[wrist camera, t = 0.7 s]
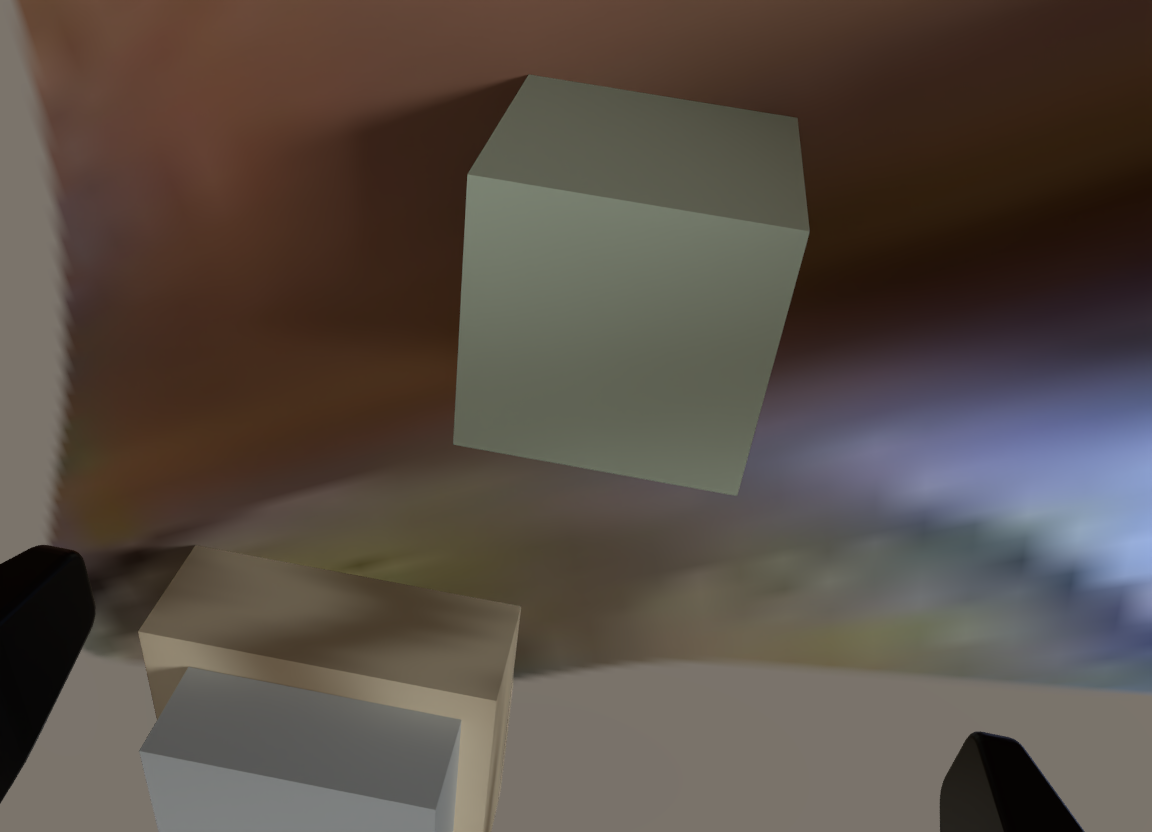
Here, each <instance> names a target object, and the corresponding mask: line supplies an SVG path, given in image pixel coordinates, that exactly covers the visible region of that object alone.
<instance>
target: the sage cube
mask: <svg viewBox="0 0 1152 832" xmlns="http://www.w3.org/2000/svg"><path fill="white" fill-rule="evenodd" d="M809 233H810V228H809V219H808V210H807V201H806V192H805V182H804V173H803V164H802V155H801V146H800V136H799V127H798V118H795V117H789V116H783V115H777V114H771V113H765V112H758V111H752V110H746V109H740V108H734V107H727V106H721V105H715V104H709V103H703V102H696V101H690V100H684V99H678V98H672V97H665V96H659V95H653V94H647V93H641V92H634V91H628V90H622V89H616V88H610V87H603V86H597V85H591V84H585V83H579V82H572V81H566V80H560V79H554V78H548V77H541V76H535V75H528V76H527V78H526V80H525V81H524V83H523V85H522V86H521V88H520V89H519V91H518V93H517V94H516V96H515V98H514V99H513V101H512V103H511V104H510V106H509V107H508V109H507V111H506V112H505V114H504V116H503V117H502V119H501V120H500V122H499V124H498V125H497V127H496V129H495V130H494V132H493V133H492V135H491V137H490V138H489V140H488V142H487V143H486V145H485V146H484V148H483V150H482V151H481V153H480V155H479V156H478V158H477V159H476V161H475V163H474V164H473V166H472V168H471V169H470V171H469V173H468V174H467V192H466V211H465V230H464V249H463V268H462V287H461V306H460V325H459V344H458V363H457V382H456V401H455V420H454V439H453V445H458V446H464V447H469V448H475V449H480V450H486V451H491V452H497V453H503V454H508V455H514V456H519V457H525V458H530V459H536V460H541V461H547V462H552V463H558V464H563V465H569V466H574V467H580V468H585V469H591V470H596V471H602V472H607V473H613V474H619V475H624V476H630V477H635V478H641V479H646V480H652V481H657V482H663V483H668V484H674V485H679V486H685V487H690V488H696V489H701V490H707V491H712V492H718V493H723V494H729V495H735V496H737V495H738V491H739V487H740V484H741V480H742V476H743V473H744V469H745V465H746V462H747V458H748V455H749V451H750V447H751V444H752V440H753V436H754V433H755V429H756V425H757V422H758V418H759V415H760V411H761V407H762V404H763V400H764V396H765V393H766V389H767V385H768V382H769V378H770V375H771V371H772V367H773V364H774V360H775V356H776V353H777V349H778V345H779V342H780V338H781V335H782V331H783V327H784V324H785V320H786V316H787V313H788V309H789V305H790V302H791V298H792V295H793V291H794V287H795V284H796V280H797V276H798V273H799V269H800V265H801V262H802V258H803V255H804V251H805V247H806V244H807V240H808V236H809Z"/></svg>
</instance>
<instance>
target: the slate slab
mask: <svg viewBox="0 0 1152 832" xmlns="http://www.w3.org/2000/svg"><path fill="white" fill-rule="evenodd" d="M460 733H461V720H460V719H455V718H450V717H444V716H439V715H434V714H429V713H424V712H419V711H414V710H408V709H403V708H398V707H393V706H388V705H383V704H377V703H372V702H367V701H362V700H357V699H352V698H347V697H341V696H336V695H331V694H326V693H321V692H316V691H310V690H305V689H300V688H295V687H290V686H285V685H280V684H274V683H269V682H264V681H259V680H254V679H249V678H243V677H238V676H233V675H228V674H223V673H218V672H213V671H207V670H202V669H197V668H192V667H188V669H187V670H186V672H185V674H184V675H183V677H182V679H181V681H180V682H179V684H178V686H177V687H176V689H175V691H174V692H173V694H172V696H171V698H170V699H169V701H168V703H167V704H166V706H165V708H164V710H163V711H162V713H161V715H160V716H159V718H158V720H157V722H156V723H155V725H154V727H153V728H152V730H151V732H150V733H149V735H148V737H147V739H146V740H145V742H144V744H143V745H142V747H141V749H140V751H139V752H140V756H141V760H142V765H143V769H144V773H145V777H146V781H147V785H148V789H149V793H150V798H151V802H152V806H153V810H154V814H155V818H156V823H157V827H158V831H159V832H453V830H454V816H455V802H456V789H457V775H458V761H459V747H460Z"/></svg>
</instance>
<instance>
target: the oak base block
mask: <svg viewBox="0 0 1152 832" xmlns="http://www.w3.org/2000/svg"><path fill="white" fill-rule="evenodd" d="M520 611H521V606H516V605H511V604H506V603H500V602H495V601H490V600H484V599H479V598H474V597H468V596H463V595H458V594H452V593H447V592H442V591H436V590H431V589H426V588H420V587H415V586H410V585H404V584H399V583H394V582H388V581H383V580H378V579H372V578H367V577H362V576H356V575H351V574H346V573H341V572H335V571H330V570H325V569H319V568H314V567H309V566H303V565H298V564H293V563H287V562H282V561H277V560H271V559H266V558H261V557H255V556H250V555H245V554H239V553H234V552H229V551H223V550H218V549H213V548H207V547H202V546H197V545H195V547H194V548H193V550H192V551H191V553H190V554H189V556H188V557H187V559H186V560H185V562H184V563H183V565H182V566H181V568H180V569H179V571H178V572H177V574H176V575H175V577H174V578H173V580H172V581H171V583H170V584H169V586H168V587H167V589H166V590H165V592H164V593H163V595H162V596H161V598H160V599H159V601H158V602H157V604H156V605H155V607H154V608H153V610H152V611H151V613H150V614H149V616H148V617H147V619H146V620H145V622H144V623H143V625H142V626H141V628H140V629H139V631H138V634H139V639H140V643H141V648H142V652H143V657H144V662H145V666H146V671H147V676H148V680H149V685H150V689H151V694H152V698H153V703H154V708H155V713H156V717H157V720H158V718H159V716H160V715H161V713H162V711H163V710H164V708H165V706H166V704H167V703H168V701H169V699H170V698H171V696H172V694H173V692H174V691H175V689H176V687H177V686H178V684H179V682H180V681H181V679H182V677H183V675H184V674H185V672H186V670H187V669H188V667H192V668H197V669H202V670H207V671H213V672H218V673H223V674H228V675H233V676H238V677H243V678H249V679H254V680H259V681H264V682H269V683H274V684H280V685H285V686H290V687H295V688H300V689H305V690H310V691H316V692H321V693H326V694H331V695H336V696H341V697H347V698H352V699H357V700H362V701H367V702H372V703H377V704H383V705H388V706H393V707H398V708H403V709H408V710H414V711H419V712H424V713H429V714H434V715H439V716H444V717H450V718H455V719H460V720H461V733H460V747H459V761H458V775H457V789H456V802H455V816H454V830H453V832H491V830H492V826H493V822H494V818H495V813H496V809H497V805H498V800H499V796H500V792H501V785H502V776H503V768H504V759H505V751H506V742H507V734H508V725H509V717H510V708H511V700H512V691H513V683H514V679H513V671H514V663H515V654H516V646H517V637H518V629H519V620H520Z"/></svg>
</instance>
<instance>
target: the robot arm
mask: <svg viewBox="0 0 1152 832" xmlns="http://www.w3.org/2000/svg"><path fill="white" fill-rule="evenodd" d="M94 619H95V601H94V597H93V594H92V590H91V586H90V582H89V578H88V574H87V570H86V566H85V562H84V560H83V557H82V556H81V555H80V554H79V553H78V552H76V551H74V550H69V549H64V548H59V547H54V546H49V545H39V546H35V547H32V548H30V549H28V550H26V551H24V552H22V553H21V554H19V555H17V556H15V557H13V558H12V559H9V560H7V561H5V562H4V563H2V564H0V803H1V801H2V800H3V798H4V796H5V795H6V793H7V792H8V790H9V789H10V787H11V785H12V784H13V782H14V780H15V779H16V777H17V775H18V774H19V772H20V770H21V768H22V767H23V765H24V763H25V762H26V760H27V758H28V756H29V754H30V752H31V750H32V749H33V747H34V745H35V743H36V741H37V739H38V737H39V735H40V733H41V731H42V729H43V727H44V725H45V723H46V721H47V719H48V716H49V714H50V713H51V711H52V709H53V706H54V704H55V702H56V700H57V698H58V696H59V694H60V692H61V690H62V688H63V686H64V684H65V682H66V680H67V678H68V676H69V674H70V672H71V670H72V668H73V666H74V664H75V661H76V659H77V657H78V655H79V653H80V651H81V649H82V647H83V645H84V643H85V641H86V639H87V637H88V635H89V633H90V631H91V628H92V626H93V623H94ZM940 832H1084V830H1083V829H1082V827H1081V826H1080V825H1079V823H1078V822H1077V821H1076V819H1075V818H1074V816H1073V815H1072V814H1071V812H1070V811H1069V809H1068V808H1067V807H1066V805H1065V804H1064V803H1063V801H1062V800H1061V798H1060V797H1059V796H1058V794H1057V793H1056V792H1055V790H1054V789H1053V787H1052V786H1051V785H1050V783H1049V782H1048V780H1047V779H1046V778H1045V776H1044V775H1043V774H1042V772H1041V771H1040V769H1039V768H1038V767H1037V765H1036V764H1035V762H1034V761H1033V760H1032V758H1031V757H1030V756H1029V754H1028V753H1027V752H1026V750H1025V749H1024V747H1023V746H1022V745H1021V744H1019V742H1017V741H1016V740H1014V739H1012V738H1009V737H1005V736H1000V735H995V734H990V733H985V732H974V733H972V734H970V735H969V737H968V738H967V739H966V740H965V742H964V744H963V746H962V748H961V749H960V751H959V753H958V755H957V757H956V758H955V760H954V762H953V764H952V766H951V767H950V769H949V771H948V773H947V775H946V777H945V779H944V781H943V785H942V788H941V795H940Z"/></svg>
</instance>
